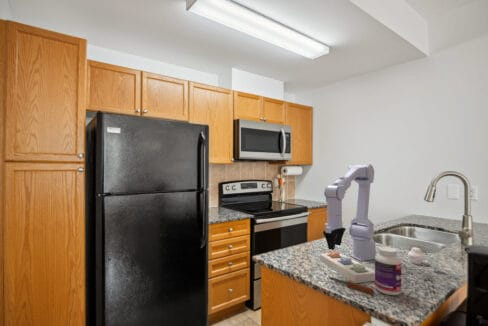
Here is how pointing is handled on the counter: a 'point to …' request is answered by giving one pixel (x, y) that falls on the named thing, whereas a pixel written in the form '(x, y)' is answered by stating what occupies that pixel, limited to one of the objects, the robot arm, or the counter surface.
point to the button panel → (348, 269)
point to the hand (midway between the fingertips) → (334, 247)
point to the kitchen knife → (355, 286)
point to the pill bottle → (388, 271)
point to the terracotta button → (334, 254)
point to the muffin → (416, 255)
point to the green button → (358, 268)
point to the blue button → (345, 261)
